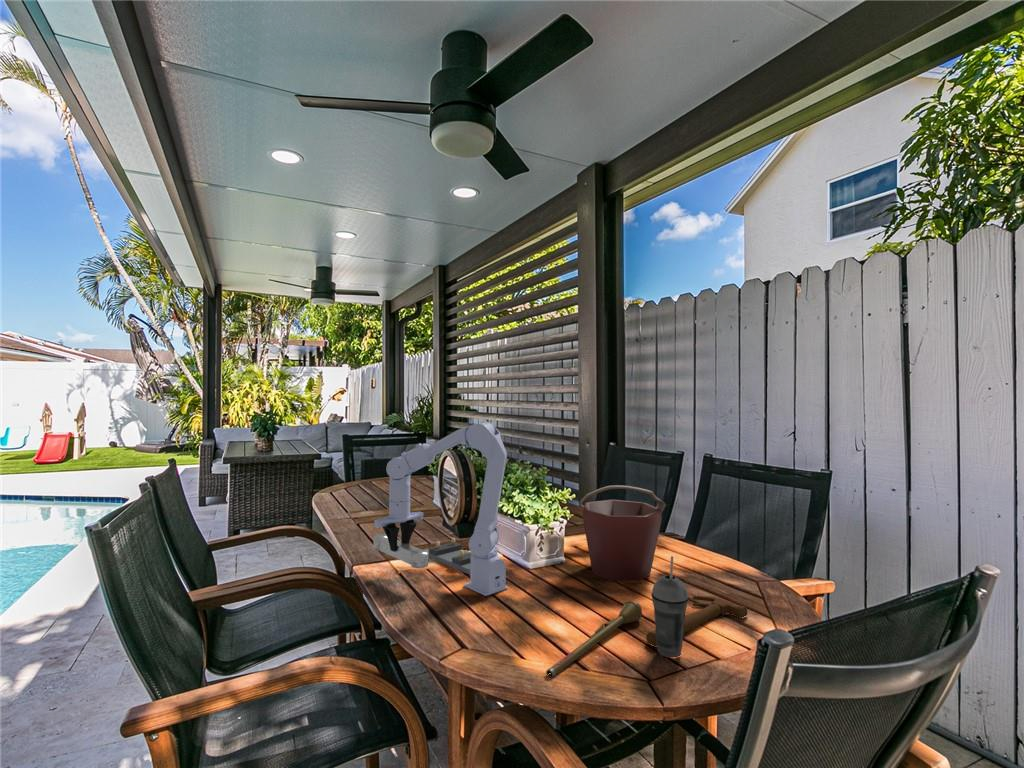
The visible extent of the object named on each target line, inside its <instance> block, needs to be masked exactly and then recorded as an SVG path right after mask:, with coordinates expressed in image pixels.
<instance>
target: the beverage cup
mask: <svg viewBox="0 0 1024 768" xmlns="http://www.w3.org/2000/svg"><path fill="white" fill-rule="evenodd" d="M669 564H670V565H669V566H670V568H669V569H670V570H669V574H668V575H663V576H661V577H659V578H658V579H657V580H656V581H654V584H653V586H652V590H651V591H652V592H651V594H650V595H651V600H652V604H653V611H654V623H655V630H656V639H657V653H658V652H659V653H660V654H661V655H663V656H665V657H678V656H680V655H682V649H683V642H684V634H685V633H684V622H685V616H686V611H687V609H688V608H687V607H688V601H689V594H688V590H687V588H686V586H685V584H684V582H683V581H682V580H680V578H679V577H677V576H674V575H673V572H674V571H673V570H674V556H672V555H671V556H670V563H669ZM683 633H684V634H683Z"/></svg>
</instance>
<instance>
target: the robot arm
mask: <svg viewBox="0 0 1024 768" xmlns="http://www.w3.org/2000/svg"><path fill="white" fill-rule="evenodd" d="M501 437H502V436H501V433H500V430H498V428H497V427H496V426H495V425H494V424H493V423H492V422H490V421H480V422H479V423H473V424H471V425H470V426H466V427H463V428H460V429H457V430H455V431H453V432H451V433H449V434H448V435H446V436H444V437H443V438H440V439H439V440H438V441H435V442H433V443H432V444H428V443H424V442H423V443H421V442H420V443H417V444H416V445H415V447H414V448H413V449H411V450H409V451H403V452H401V453H400V455H401V456H397V457H392V459H390V460H389V461H388V462H387V465H386V467H385V468H386V469H385V471H386V474H387V475H388V476H389V486H388V487H389V489H388V490H389V493H388V500H389V501H388V504H389V506H388V507H389V509H388V515H386V516H384V517H381V518H376V519H374V520H373V521H374V524H373V526H374V528H376V529H381V528H382V529H383V531H384V534H386V535H387V538H388V541H389V545H390V550H391V551H394V552H395V551H397V540H398V536H399V531H400V534H401V535H400V536H401V537H400V538H401V539H400V541H402V542H404V543H407V544H409V545H410V540H411V538H412V535H413V533H414V531H415V529H416V527H417V522H415V521H418V520H419V521H420V520H421V521H423V520H424V512H422V511H415V512H413V511H411V475H412V474H413V473H415V472H417V471H418V470H421V469H423V468H424V467H427V466H428V465H430V464H433V463H434V461H436V460H435V459H436V456H437V455H439V454H441V453H443V452H445V451H447V450H450V449H451V448H454V447H456V446H458V445H464V446H467V445H470V446H472V447H473V448H474V449H476V450H478V451H479V452H480V453H481V454H482V456H484V457H485V459H486V460H487V461H486V468H485V469H486V470H485V474H484V481H483V485H482V486H483V487H482V494H481V500H480V505H479V511H478V518H477V521H476V523H475V526H474V528H473V529H474V530H473V534H472V535H471V536H470V538H469V540H468V549H469V552H471V574H469V575H470V578H469V579H470V581H469V582H466V583H464V584H463V587H465V588H467V589H469V590H471V591H474V592H476V593H478V594H479V595H483V596H485V597H486V596H490V595H493V594H495V593H499V592H502V591H505V590H507V589H508V588H509V587H508V585H506V583H507V582H506V581H507V579H506V578H507V577H506V576H507V567H506V566H507V565H506V563H505V561H504V560H503V559H502V558H501V557H500V556H499V554H498V549H497V547H496V545H497V543H498V542H499V540H500V539H499V537H500V535H499V532H498V531H499V530H498V524H499V521H498V511H499V507H500V500H501V495H502V488H503V482H504V477H505V476H504V475H505V472H506V471H505V470H506V465H507V464H506V463H507V458H508V453H507V450H506V446H505V445H504V443H503V440H502V438H501ZM397 524H399V526H398V527H397Z"/></svg>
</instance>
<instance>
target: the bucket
mask: <svg viewBox="0 0 1024 768" xmlns="http://www.w3.org/2000/svg"><path fill="white" fill-rule="evenodd" d="M608 490H609V491H610V490H630V491H635V492H640V493H643V494H646V495H650V498H651V499H652V500H653V501H654V502H655V503H657V504H656V506H653V505H651V504H649V503H646V502H641V501H633V500H632V501H631V500H620V499H606V500H605V499H604V500H596V501H587V499H588V498H591V497H593V496H596V495H597V494H599V493H603V492H606V491H608ZM586 501H587V502H586ZM584 502H585V503H584ZM583 503H584V505H583ZM666 506H667V504H666V503H665V502H664V500H662V499H660V498H658V497H657V496H656V495H655V494H654V492H653V491H652V490H648V489H645V488H641V487H637V486H631V485H621V484H620V485H617V484H615V485H607V486H604V487H600V488H598V489H595V490H593V491H591V492H588V493H587V494H585V496H583V498H581V500H579V503H578V507H579V508H580V509H581V510H582V513H583V514H582V522H583V527H584V532H585V533H584V534H585V537H586V544H587V550H588V554H589V555H588V556H589V561H590V567H591V572H592V574H593V575H595V576H598V577H600V578H603V579H606V580H609V581H612V582H640V581H642V580H643V579H645V578H646V577H648V576H649V575H651V571H652V568H653V564H654V558H655V553H656V549H657V544H658V540H659V535H660V528H661V526H662V525H661V524H662V519H663V518H662V515H663V514H662V513H663V512H664V511H665V508H666Z"/></svg>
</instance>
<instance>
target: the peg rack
mask: <svg viewBox="0 0 1024 768" xmlns="http://www.w3.org/2000/svg"><path fill="white" fill-rule="evenodd" d="M450 540H451V541H450V543H449V542H448V543H445V544H441V541H438V540H437V541H436V542H435V546H432V547H429V548H425V549H423V550H427V551H428V557H429V558H428V559H430V558H431V560H433V559H434V560H433V561H435V560H436V562H438V563H440V562H441V563H440V564H442V563H443V565H446V566H448V567H450V568H452V569H455V570H456V571H460V572H462V573H465V574H467V575H470V574H471V551H467V550H464V549H463V544H461V543H459V542H456V538H455V537H451V539H450Z"/></svg>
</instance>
